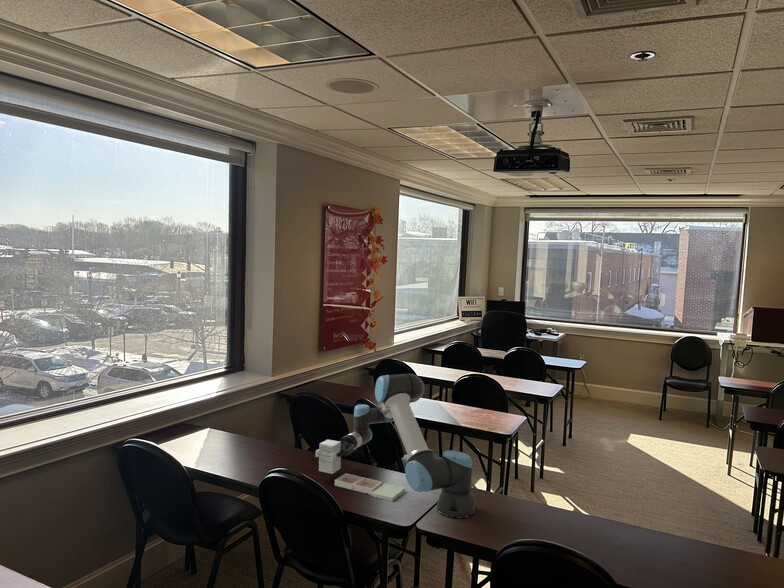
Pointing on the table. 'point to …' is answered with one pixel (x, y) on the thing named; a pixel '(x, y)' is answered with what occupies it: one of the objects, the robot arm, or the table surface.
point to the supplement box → (329, 456)
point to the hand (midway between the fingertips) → (324, 455)
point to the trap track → (369, 486)
